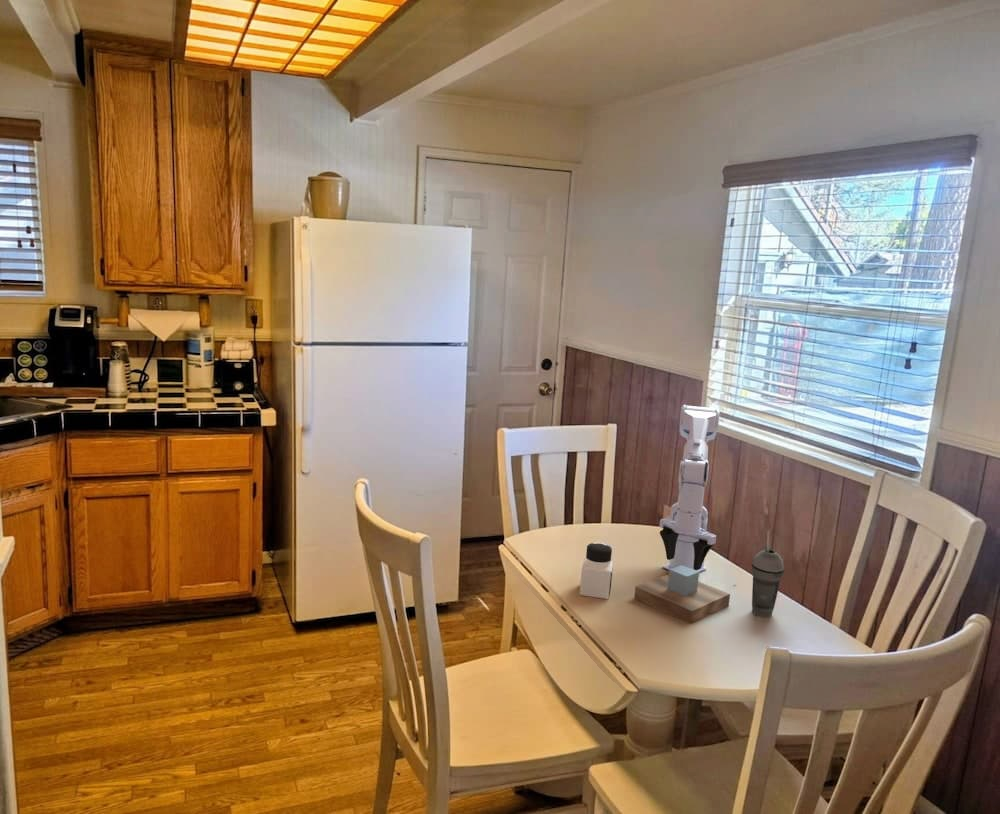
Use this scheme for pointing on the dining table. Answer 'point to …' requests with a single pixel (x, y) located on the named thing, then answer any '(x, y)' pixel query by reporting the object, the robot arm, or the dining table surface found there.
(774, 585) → the beverage cup
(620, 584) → the dining table surface
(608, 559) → the medicine bottle
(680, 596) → the walnut plinth
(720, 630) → the dining table surface
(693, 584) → the slate block
